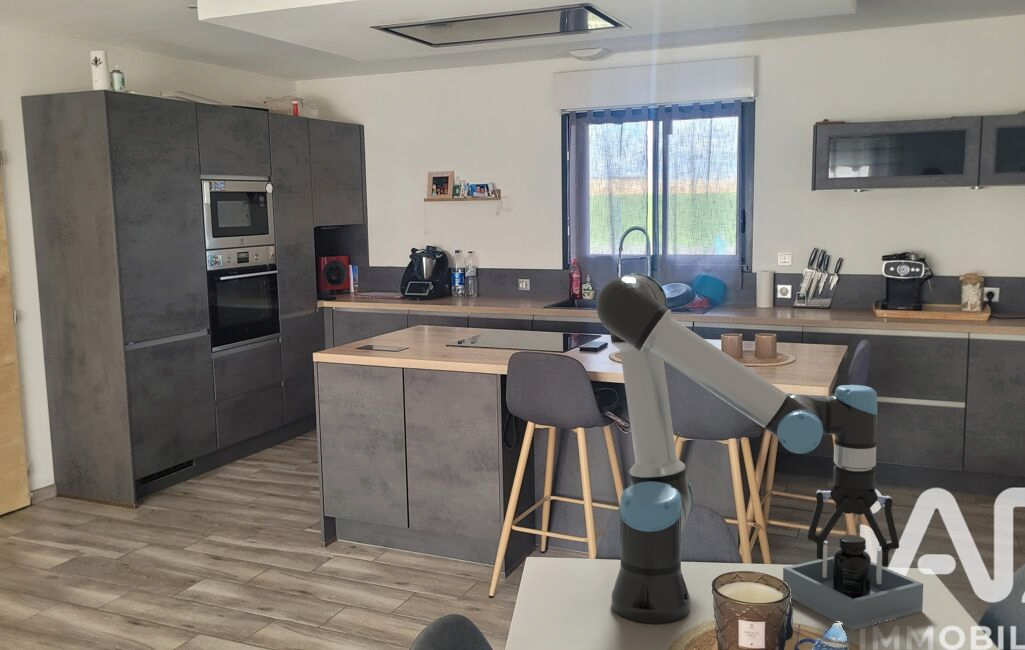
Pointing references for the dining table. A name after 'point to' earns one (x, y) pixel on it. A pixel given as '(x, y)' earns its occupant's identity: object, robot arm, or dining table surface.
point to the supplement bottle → (852, 567)
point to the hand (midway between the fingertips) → (851, 578)
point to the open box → (881, 604)
